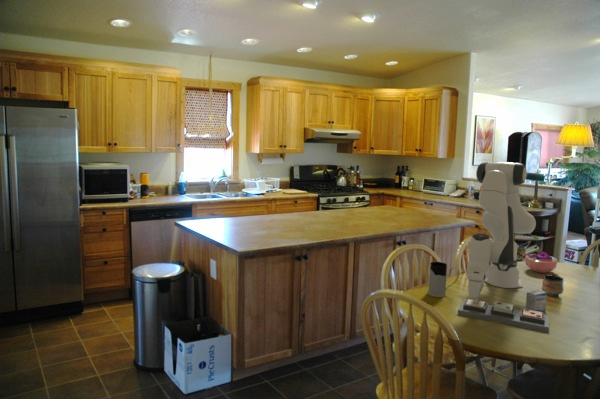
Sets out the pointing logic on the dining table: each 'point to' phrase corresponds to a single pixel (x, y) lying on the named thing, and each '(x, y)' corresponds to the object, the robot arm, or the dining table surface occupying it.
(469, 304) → the key one
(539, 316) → the key three
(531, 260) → the cell model
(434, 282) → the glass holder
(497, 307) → the key two
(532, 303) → the medicine box
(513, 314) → the key panel
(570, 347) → the dining table surface
